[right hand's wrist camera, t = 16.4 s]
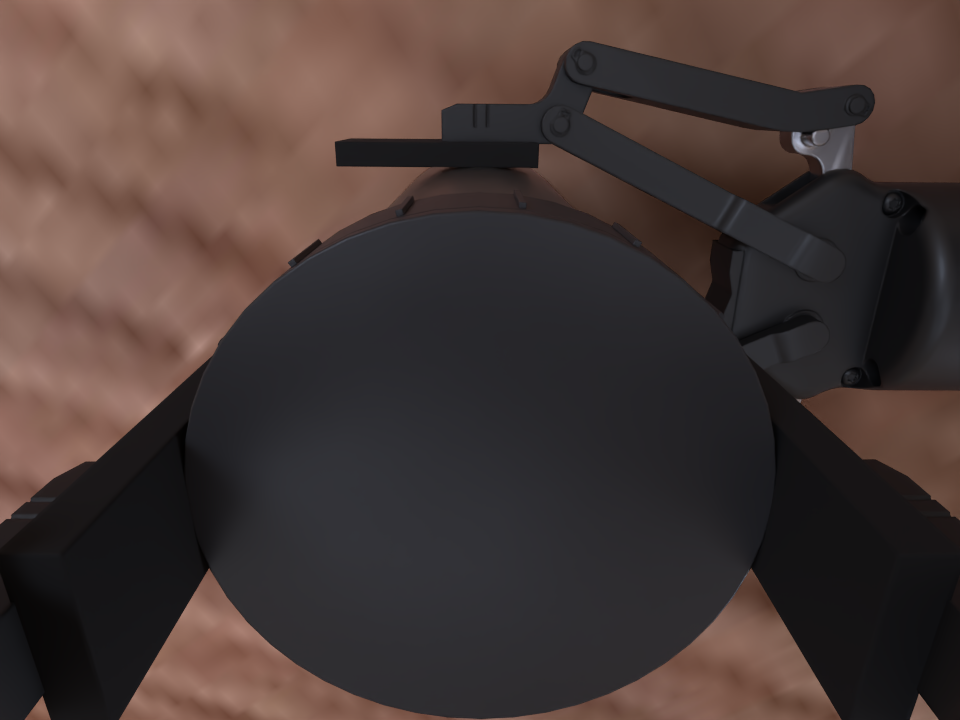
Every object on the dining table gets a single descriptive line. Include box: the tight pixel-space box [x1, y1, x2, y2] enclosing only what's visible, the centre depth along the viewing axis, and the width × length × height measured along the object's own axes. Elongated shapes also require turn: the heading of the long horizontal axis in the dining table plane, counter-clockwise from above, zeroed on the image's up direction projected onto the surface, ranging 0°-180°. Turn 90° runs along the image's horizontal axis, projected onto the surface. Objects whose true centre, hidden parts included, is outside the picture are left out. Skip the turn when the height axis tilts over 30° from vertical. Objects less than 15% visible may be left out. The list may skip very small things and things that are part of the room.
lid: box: [184, 190, 776, 719], centre depth 11 cm, size 10×10×2 cm
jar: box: [387, 167, 573, 209], centre depth 20 cm, size 8×8×20 cm
